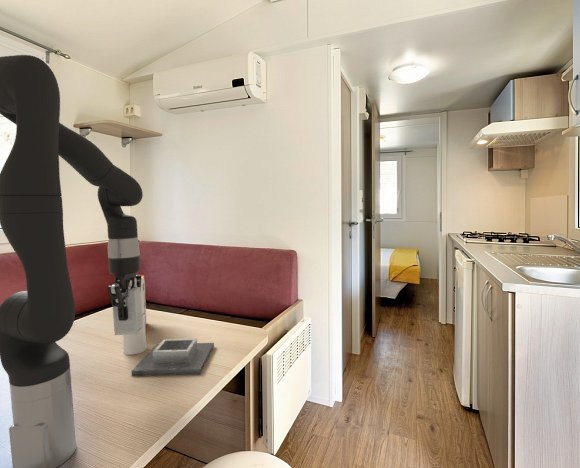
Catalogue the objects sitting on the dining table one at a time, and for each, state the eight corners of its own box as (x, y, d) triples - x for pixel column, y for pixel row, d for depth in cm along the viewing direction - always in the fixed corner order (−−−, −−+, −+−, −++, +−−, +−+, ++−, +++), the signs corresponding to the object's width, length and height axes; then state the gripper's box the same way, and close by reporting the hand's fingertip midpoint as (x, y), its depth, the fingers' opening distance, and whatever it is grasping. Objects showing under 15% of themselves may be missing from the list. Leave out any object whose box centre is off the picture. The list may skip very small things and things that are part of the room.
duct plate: (200, 374, 93) (199, 357, 92) (131, 375, 93) (130, 359, 92) (214, 346, 111) (213, 333, 110) (156, 348, 111) (155, 334, 110)
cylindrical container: (137, 355, 105) (132, 281, 103) (118, 353, 107) (113, 280, 104) (150, 346, 112) (146, 276, 110) (132, 344, 114) (128, 276, 111)
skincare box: (143, 328, 89) (141, 286, 88) (137, 334, 85) (134, 290, 84) (121, 329, 89) (118, 287, 88) (113, 335, 85) (110, 291, 83)
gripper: (125, 259, 78) (129, 326, 79) (149, 250, 92) (152, 308, 94) (94, 259, 78) (99, 327, 79) (123, 251, 92) (127, 308, 94)
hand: (128, 316), depth 87 cm, fingers closed on skincare box, 4 cm apart
